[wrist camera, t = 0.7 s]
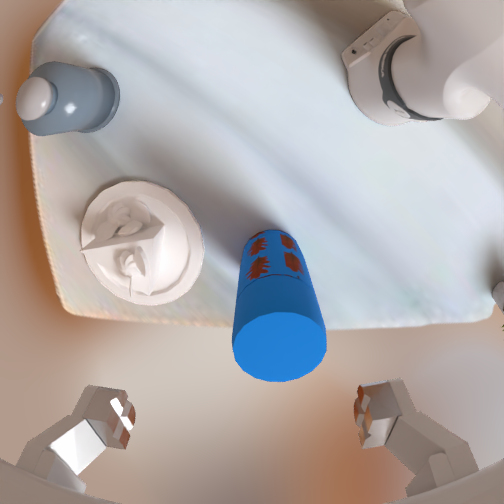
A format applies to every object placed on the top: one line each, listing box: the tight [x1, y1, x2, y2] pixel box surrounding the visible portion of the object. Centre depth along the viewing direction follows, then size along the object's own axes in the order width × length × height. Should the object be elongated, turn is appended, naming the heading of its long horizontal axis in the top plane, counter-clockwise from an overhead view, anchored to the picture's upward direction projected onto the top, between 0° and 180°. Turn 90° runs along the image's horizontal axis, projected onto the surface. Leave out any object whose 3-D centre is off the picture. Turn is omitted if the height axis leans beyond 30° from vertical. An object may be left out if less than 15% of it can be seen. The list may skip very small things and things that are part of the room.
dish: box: [80, 181, 205, 306], centre depth 51 cm, size 25×25×11 cm
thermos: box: [232, 230, 326, 382], centre depth 45 cm, size 11×11×25 cm
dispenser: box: [16, 62, 120, 136], centre depth 37 cm, size 12×12×18 cm
